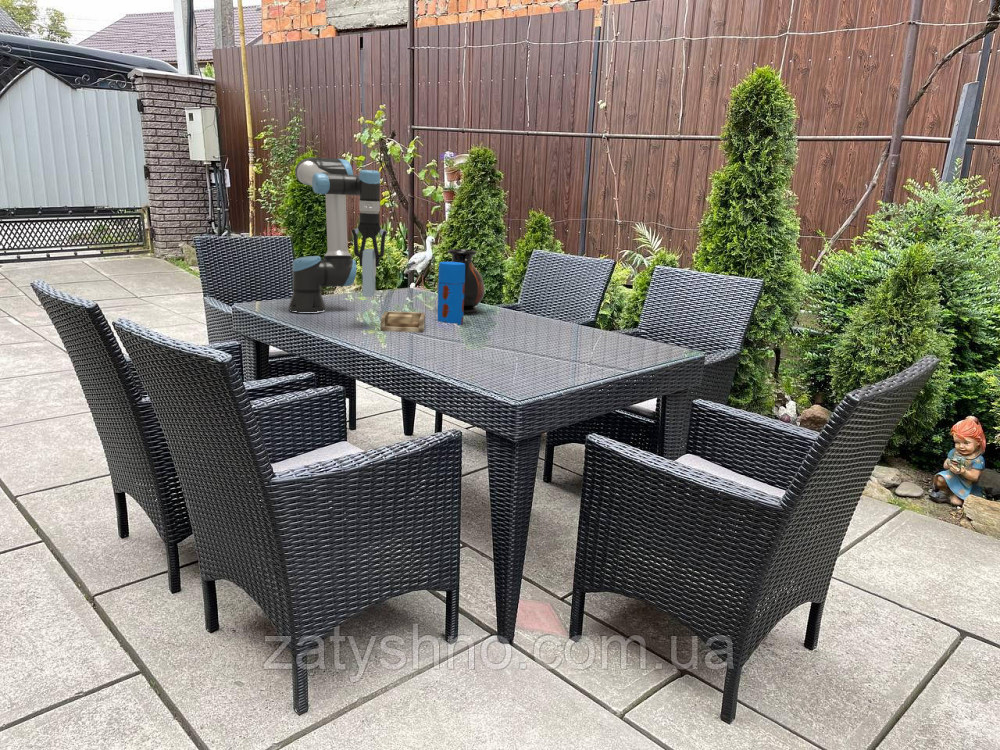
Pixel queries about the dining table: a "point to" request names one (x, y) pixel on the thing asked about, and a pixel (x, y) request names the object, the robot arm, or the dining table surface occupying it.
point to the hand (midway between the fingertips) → (369, 274)
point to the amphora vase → (469, 279)
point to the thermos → (451, 292)
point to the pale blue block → (368, 273)
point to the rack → (416, 318)
